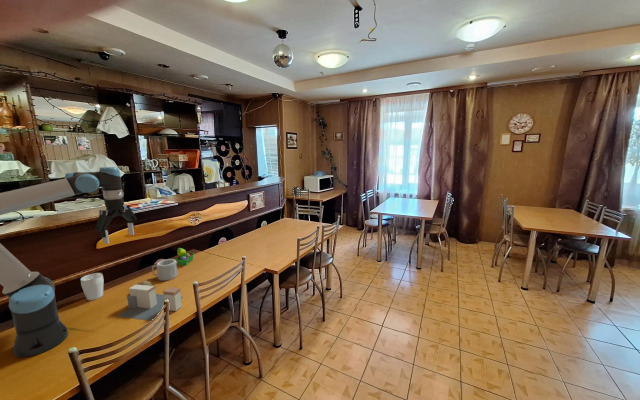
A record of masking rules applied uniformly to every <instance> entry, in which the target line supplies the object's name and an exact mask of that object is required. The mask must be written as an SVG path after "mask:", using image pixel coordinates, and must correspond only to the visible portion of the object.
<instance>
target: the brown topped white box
mask: <svg viewBox="0 0 640 400" xmlns="http://www.w3.org/2000/svg"><path fill="white" fill-rule="evenodd" d="M162 295H164V301H165V300H167V299H168V300H169V303H170V310H169V311H173V312H177V311H179V309H181V308H182V307H183V304H182V299H181V297H182V295H181V288H180V287H173V286H169V287H167V288H166V289H164V290H163V291H162Z"/></svg>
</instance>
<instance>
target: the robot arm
mask: <svg viewBox="0 0 640 400" xmlns="http://www.w3.org/2000/svg"><path fill="white" fill-rule="evenodd" d="M64 177H65V178H62V179H56V180H53V181H48V182H44V183H39V184H35V185H30V186H26V187H22V188H18V189H12V190H9V191H4V192H0V216H3V215H8V214H9V213H13V212H17V211H20V210H25V209H28V208H32V207H36V206H39V205H43V204H47V203H50V202H54V201H59V200H61V199H66V198H69V197H73V196H76V195H81V194H84V193H88V194H89V193H93V192H96V190H97V189H99V188H101V189H102V194H103V198H104V207H105V208H106V209H104V210H103V209H100V210H99V216H98V219H97V221H96V224H95V227H94V231H98V232H99V234H100V238H102V244H105V245H106V244H107V245H108V244H110V239H109V232H108V230H107V229H108V226H109V225H110V224H111V221H113V219H115V218H117V217H122V218H124V219H125V220H126V221H127V230H128V235H131V236H134V235H135V230H134V229H135V223H136V221H137V220H138V218H137V215H135V213H134V212H133V210H132V209H131V206H130V205H127V204H125V200H124V195H123V194H124V193H123V186H122V177H121V173H120V168H119V167H117V166H105V167H99V171H80V172H78V171H77V172H76V171H75V172H67V173H65V175H64ZM0 286H2V287H3V289H2V291H1V292H2V294H3V295H4V296H6V297H7V298H8V308H9V310H10V313H11V317H12V321H13V325H14V328H15V333H16V336H15V339H14V343H13V347H12V350H13V356H14V357H16V358H27V357H33V356H36V355H39V354H42V353H45V352H46V351H47V352H48V351H49V350H51V349H53V348H56V347H57V346H58V345H60V344H62V343H63V342H64V341H65V340H66V339H67V337H68V336H69V332H68V331H69V330H68V328H67V326H66V325H65V324H64V323H63V322H62V320H61V319H60V317H59V312H58V308H57V302H56V293H55V291H56V286H55V283H54V282H53V281H52V279H50V278H48V277H45V276H43V275H42V274H41V273H40V272H39V271H31V270H30V269H29V268H27V267H26V266H25V265H24V264H23V263H22V262H21V261H20V260H19V259H18V258H17V257H16V256H14V255H13V253H11V252H10V251H9V250H8V249H7V248H6V247H5V246H4V245H3V244H2V243H0Z"/></svg>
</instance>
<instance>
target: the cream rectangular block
mask: <svg viewBox="0 0 640 400" xmlns="http://www.w3.org/2000/svg"><path fill="white" fill-rule="evenodd" d="M137 284H138V283H137ZM137 284H133V286H131V287H129V289H128V291H129V295H128V296H126V299H127V304H128V309H129V308H135V309H136V308H137V307H141V308H150V309H151V308H152V307H154V306H155V305H156V304H157V299H156V294H157V293H156V286H155V285H152V286H147V285H137Z"/></svg>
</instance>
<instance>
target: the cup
mask: <svg viewBox="0 0 640 400" xmlns="http://www.w3.org/2000/svg"><path fill="white" fill-rule="evenodd" d="M104 284H105V283H104V275H103V273H102V272H95V273H94V272H93V273H89V274H86V275H84V276H82V277H81V278H80V286H81V288H82V290H83V293H84V296H85V297H86V300H88V301H93V300H94V301H95V300H97V299H101V298H102V297H103V295H104Z"/></svg>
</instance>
